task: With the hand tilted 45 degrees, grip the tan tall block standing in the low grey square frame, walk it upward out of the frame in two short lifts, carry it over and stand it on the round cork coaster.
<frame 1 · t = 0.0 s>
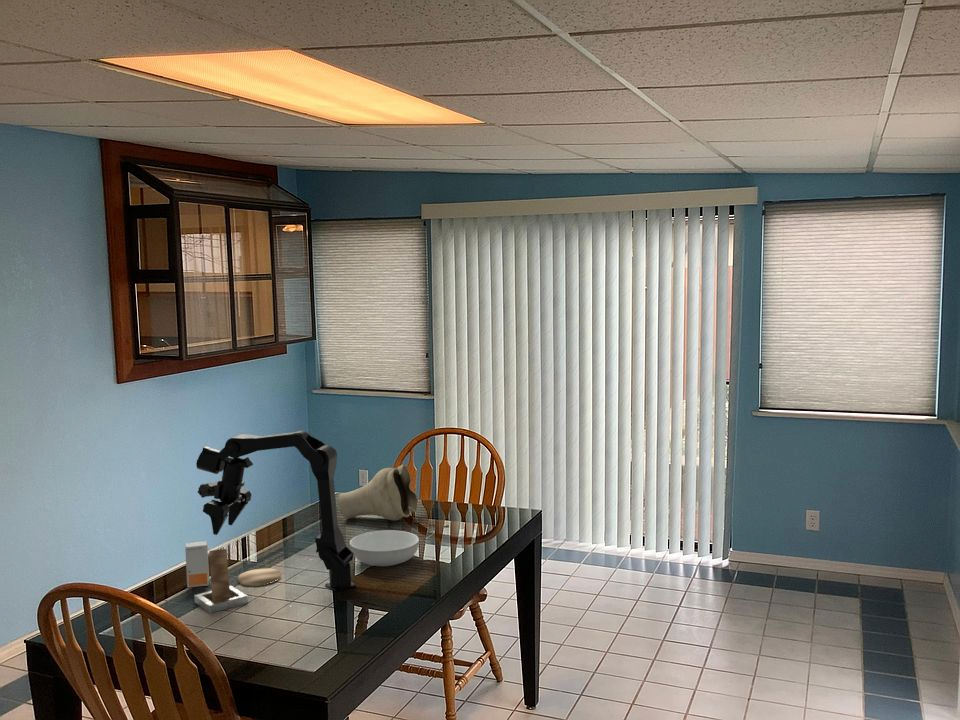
hand: (222, 529, 256), 15 cm above the table, tool pointing down, fingers open, 9 cm apart
serving bowl: (385, 562, 271), on the table
cork coaster: (259, 578, 259), on the table
tan tall block: (219, 577, 241), in the grey square frame
skincare box: (198, 585, 256), on the table
grey square frame: (221, 602, 241), on the table
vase: (375, 519, 317), on the table
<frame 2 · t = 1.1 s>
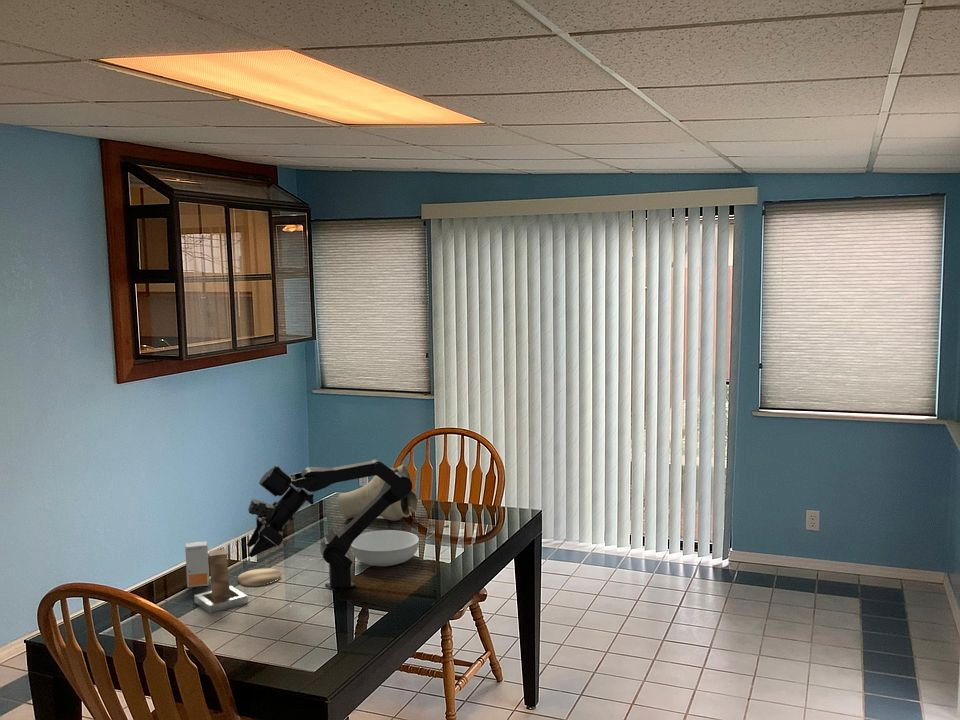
hand: (249, 551, 242), 13 cm above the table, tool tilted 45°, fingers open, 9 cm apart
nothing on the table moved.
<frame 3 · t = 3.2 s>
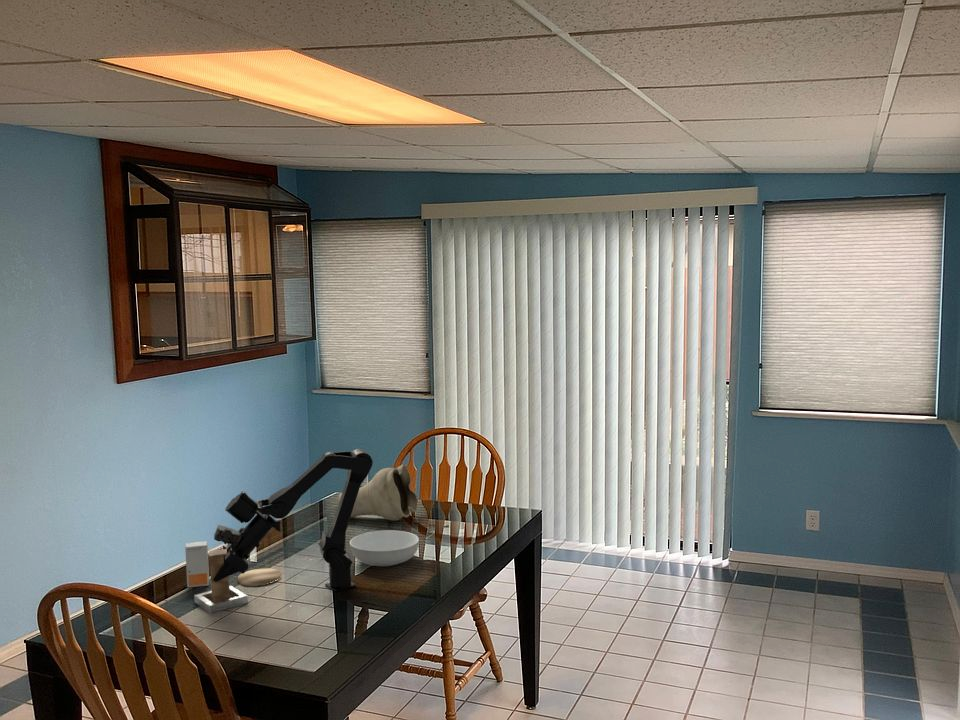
hand: (214, 577, 240), 7 cm above the table, tool tilted 45°, fingers closed on tan tall block, 4 cm apart
tan tall block: (219, 577, 241), in the grey square frame, touching gripper
everything else where it was.
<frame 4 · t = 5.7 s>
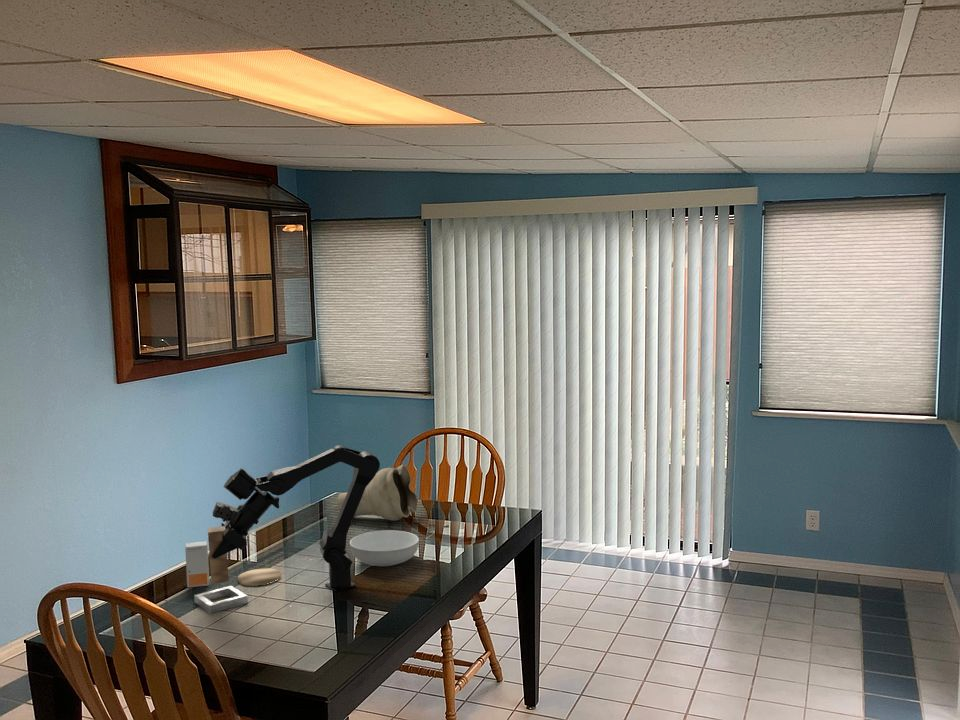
hand: (212, 554, 240), 13 cm above the table, tool tilted 45°, fingers closed on tan tall block, 4 cm apart
tan tall block: (218, 554, 240), point 13 cm above the table, touching gripper
everything else where it was.
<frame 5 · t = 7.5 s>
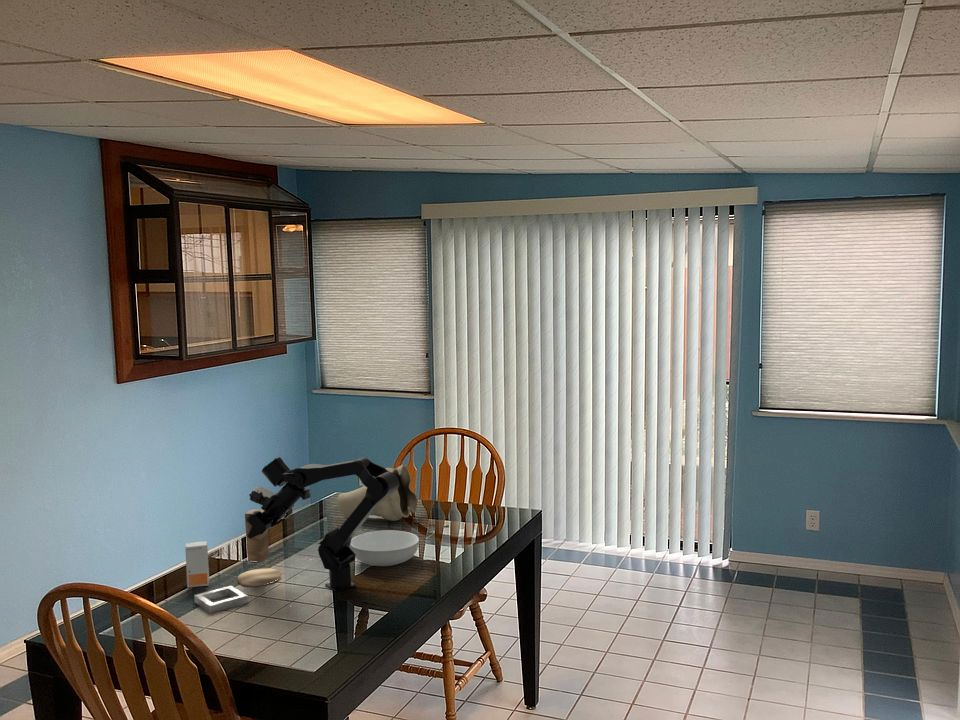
hand: (252, 534, 258), 13 cm above the table, tool tilted 45°, fingers closed on tan tall block, 4 cm apart
tan tall block: (257, 535, 258), point 13 cm above the table, touching gripper
everything else where it was.
when the fingers open (10 cm above the table, at t = 8.6 s): tan tall block drops 1 cm, resting on cork coaster.
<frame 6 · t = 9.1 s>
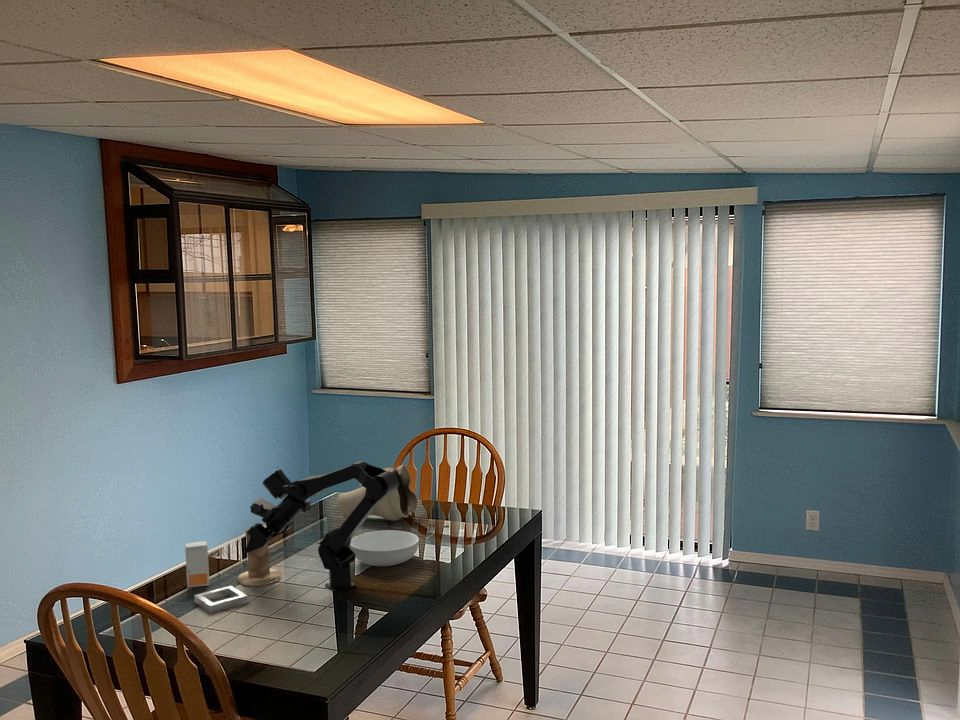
hand: (253, 546, 258), 10 cm above the table, tool tilted 45°, fingers open, 9 cm apart
tan tall block: (257, 552, 258), on the cork coaster, point 8 cm above the table
everything else where it was.
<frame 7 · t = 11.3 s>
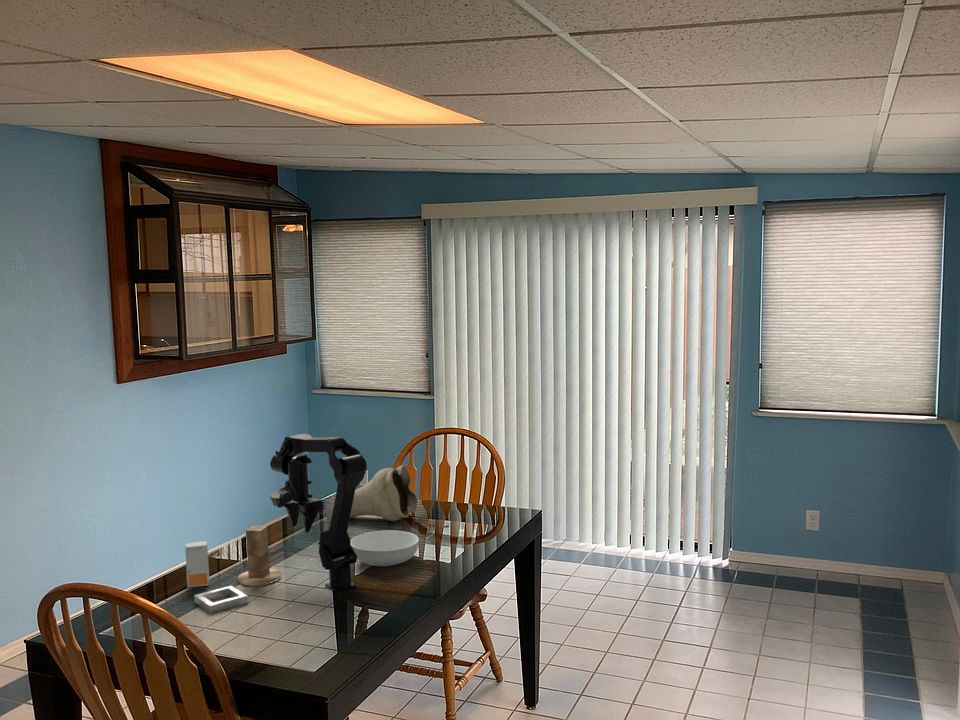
hand: (300, 529, 262), 13 cm above the table, tool pointing down, fingers open, 8 cm apart
nothing on the table moved.
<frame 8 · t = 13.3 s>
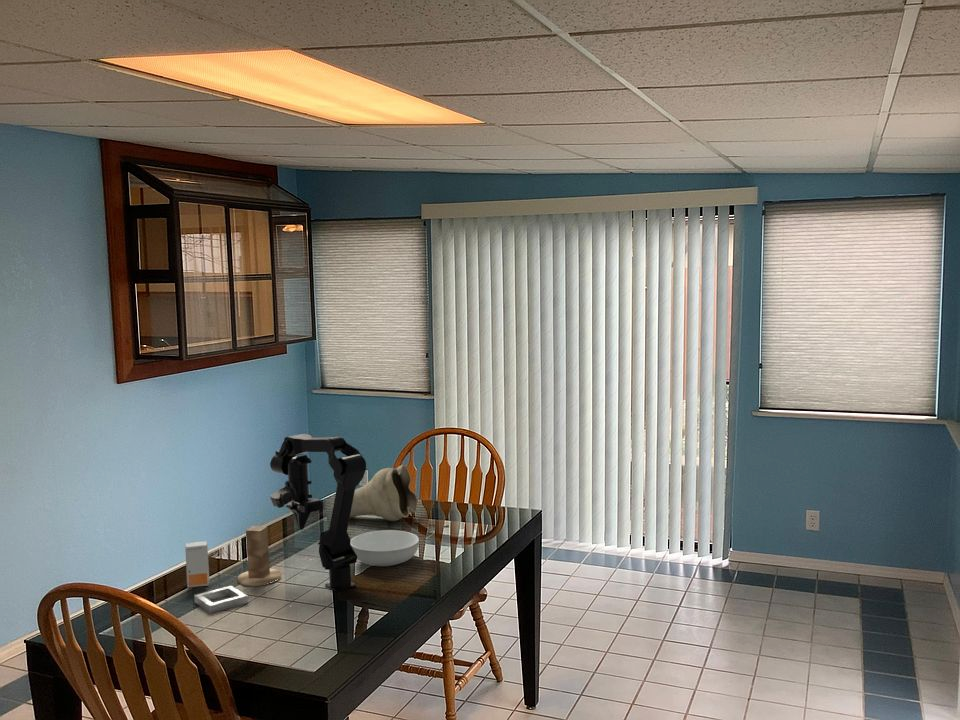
hand: (300, 529, 262), 13 cm above the table, tool pointing down, fingers closed
nothing on the table moved.
at the end: tan tall block inside the target area on the cork coaster (0.0 cm from its centre), point 8.0 cm above the cork coaster's base; tan tall block tilted 0°; the gripper is holding nothing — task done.
